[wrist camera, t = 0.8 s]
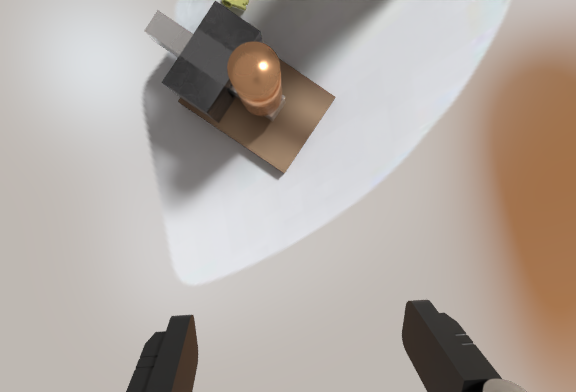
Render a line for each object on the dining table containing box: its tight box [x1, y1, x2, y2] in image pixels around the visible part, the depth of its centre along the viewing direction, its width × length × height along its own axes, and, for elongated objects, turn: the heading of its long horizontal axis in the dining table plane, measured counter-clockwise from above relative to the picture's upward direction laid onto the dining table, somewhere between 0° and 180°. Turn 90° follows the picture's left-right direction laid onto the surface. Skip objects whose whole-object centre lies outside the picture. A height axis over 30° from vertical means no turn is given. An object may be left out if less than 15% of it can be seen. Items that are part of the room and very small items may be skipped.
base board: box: [178, 58, 335, 173], centre depth 38 cm, size 10×14×1 cm
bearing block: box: [162, 1, 262, 123], centre depth 34 cm, size 9×5×6 cm, turn 146°
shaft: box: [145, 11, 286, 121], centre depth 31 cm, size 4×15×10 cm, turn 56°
